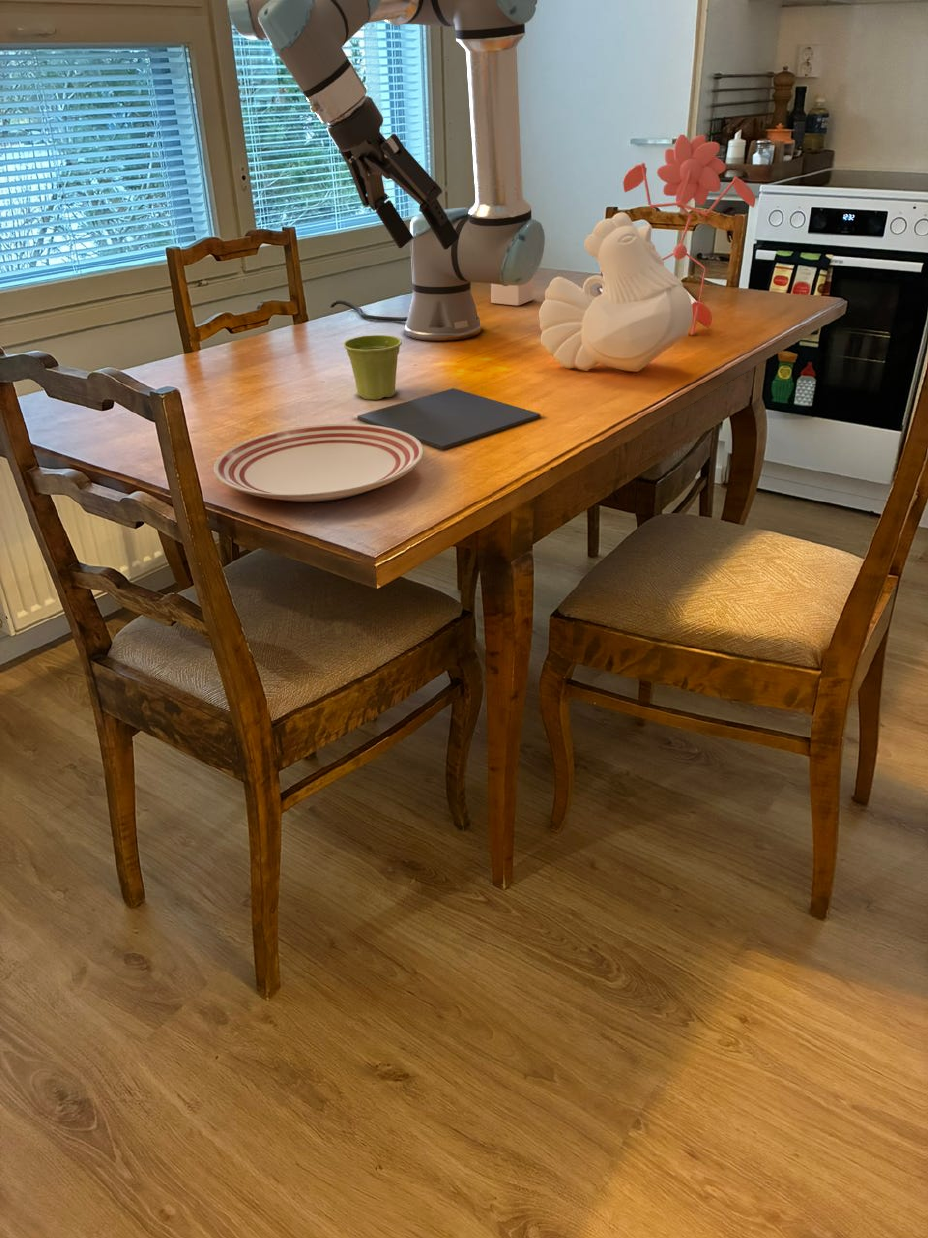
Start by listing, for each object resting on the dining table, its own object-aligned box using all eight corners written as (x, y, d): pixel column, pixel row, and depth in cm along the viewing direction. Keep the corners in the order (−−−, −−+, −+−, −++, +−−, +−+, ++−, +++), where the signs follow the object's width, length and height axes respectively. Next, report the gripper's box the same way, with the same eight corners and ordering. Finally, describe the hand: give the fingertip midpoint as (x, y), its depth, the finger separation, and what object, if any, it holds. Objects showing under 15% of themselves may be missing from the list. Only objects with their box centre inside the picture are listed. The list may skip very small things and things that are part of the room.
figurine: (734, 340, 185) (758, 137, 167) (606, 329, 195) (616, 136, 177) (750, 322, 197) (774, 131, 179) (629, 313, 207) (640, 131, 189)
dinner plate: (171, 492, 124) (166, 468, 122) (307, 431, 144) (305, 409, 142) (339, 536, 111) (336, 509, 110) (463, 461, 131) (462, 438, 130)
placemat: (357, 419, 148) (357, 415, 148) (453, 391, 160) (453, 387, 160) (442, 450, 135) (442, 446, 135) (540, 417, 147) (540, 413, 147)
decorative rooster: (717, 327, 166) (649, 200, 166) (690, 330, 153) (616, 192, 153) (600, 402, 180) (537, 285, 180) (566, 410, 167) (498, 284, 167)
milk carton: (518, 306, 215) (518, 215, 206) (491, 303, 218) (490, 213, 209) (533, 300, 220) (534, 211, 211) (506, 297, 224) (506, 209, 214)
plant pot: (396, 404, 154) (393, 350, 150) (340, 402, 156) (335, 348, 152) (410, 387, 162) (408, 335, 158) (357, 385, 164) (353, 334, 160)
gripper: (291, 134, 141) (372, 257, 153) (368, 118, 121) (454, 261, 134) (327, 102, 142) (405, 227, 155) (409, 81, 122) (490, 226, 135)
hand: (428, 243), depth 144 cm, fingers open, 13 cm apart
